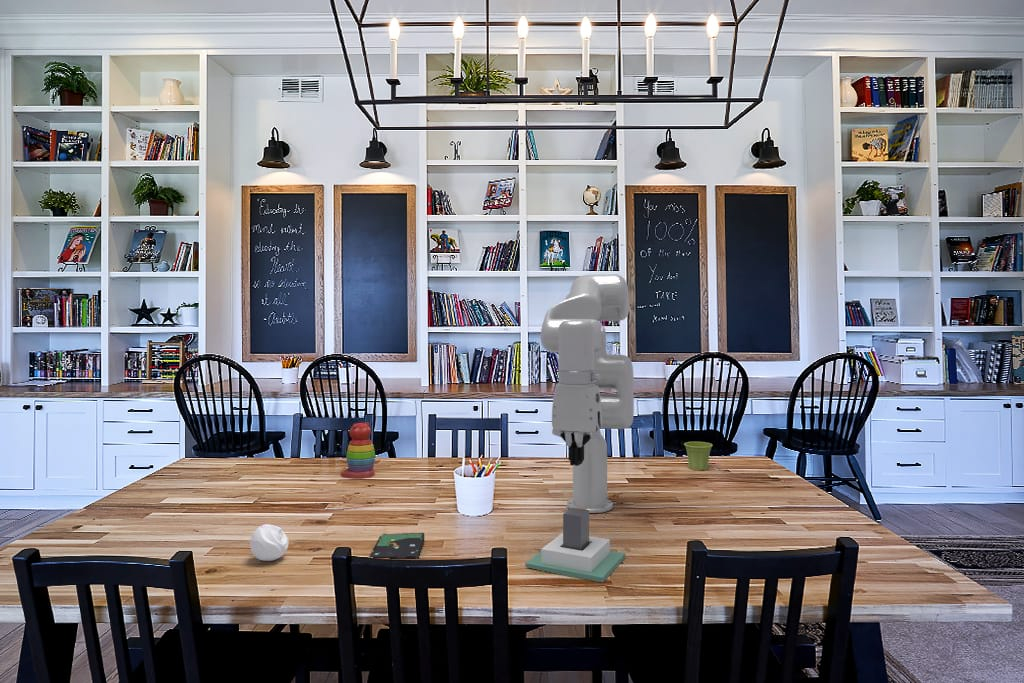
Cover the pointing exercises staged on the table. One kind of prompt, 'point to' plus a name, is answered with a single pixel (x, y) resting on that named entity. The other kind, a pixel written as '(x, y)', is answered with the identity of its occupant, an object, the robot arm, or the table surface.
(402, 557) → the disk drive
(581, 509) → the plug
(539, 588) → the table surface
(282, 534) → the crumpled white paper ball
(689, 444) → the plant pot
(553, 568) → the board
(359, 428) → the stacking bear
